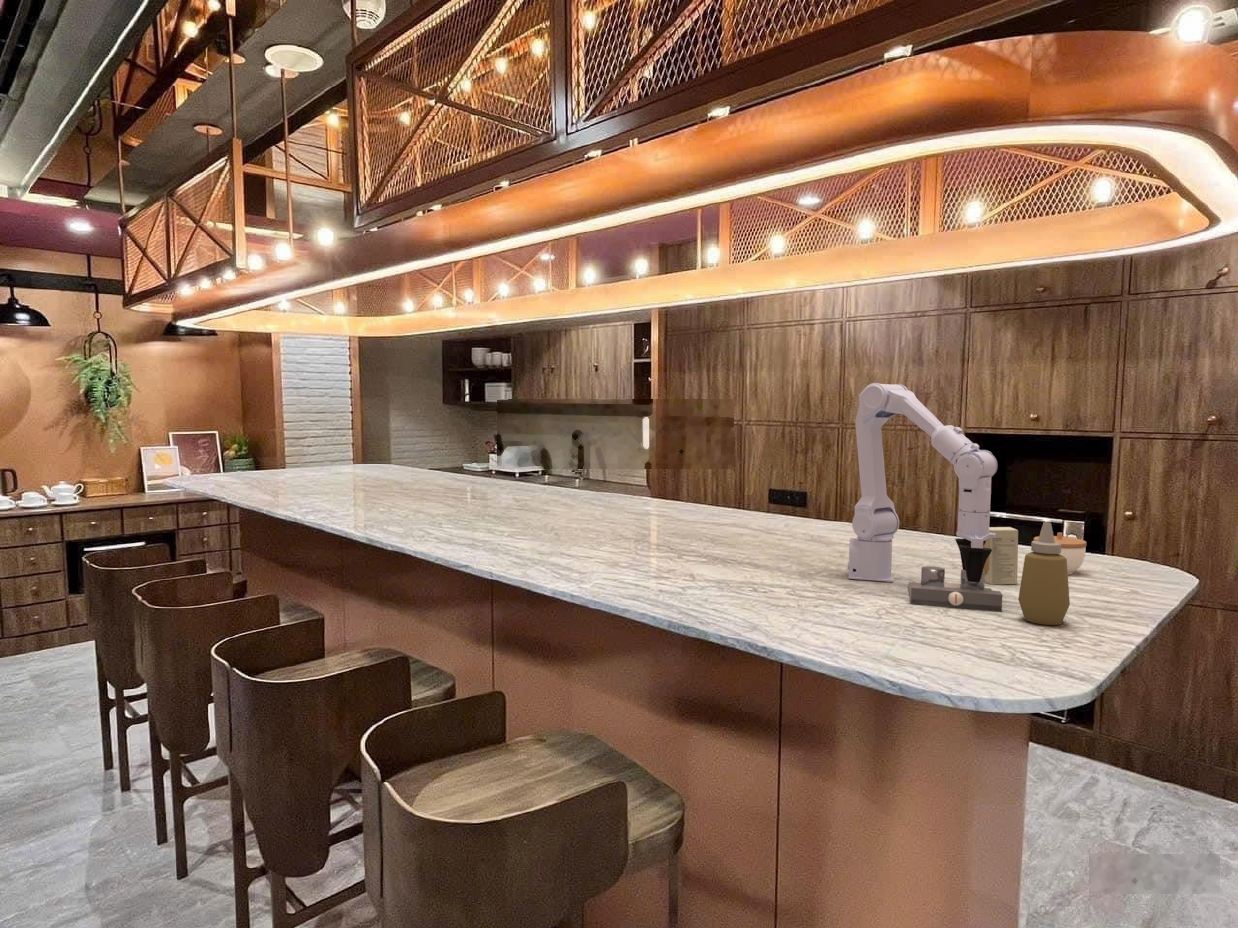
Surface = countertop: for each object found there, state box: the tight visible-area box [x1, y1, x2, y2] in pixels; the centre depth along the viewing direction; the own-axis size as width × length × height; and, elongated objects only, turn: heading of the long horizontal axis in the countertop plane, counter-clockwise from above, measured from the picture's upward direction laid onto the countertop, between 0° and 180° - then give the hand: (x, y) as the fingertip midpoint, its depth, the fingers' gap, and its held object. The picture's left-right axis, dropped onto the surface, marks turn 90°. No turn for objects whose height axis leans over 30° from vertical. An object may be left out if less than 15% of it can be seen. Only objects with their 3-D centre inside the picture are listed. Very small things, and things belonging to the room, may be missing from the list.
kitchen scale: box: [907, 581, 1003, 613], centre depth 146 cm, size 16×15×3 cm
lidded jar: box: [1032, 532, 1087, 576], centre depth 170 cm, size 11×11×9 cm
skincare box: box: [983, 526, 1019, 585], centre depth 160 cm, size 6×4×12 cm
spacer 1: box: [920, 565, 946, 587], centre depth 148 cm, size 4×4×4 cm
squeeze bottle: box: [1017, 521, 1071, 626], centre depth 129 cm, size 8×8×18 cm
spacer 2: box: [959, 568, 986, 590], centre depth 146 cm, size 4×4×4 cm
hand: (971, 577), depth 146 cm, fingers open, 7 cm apart
